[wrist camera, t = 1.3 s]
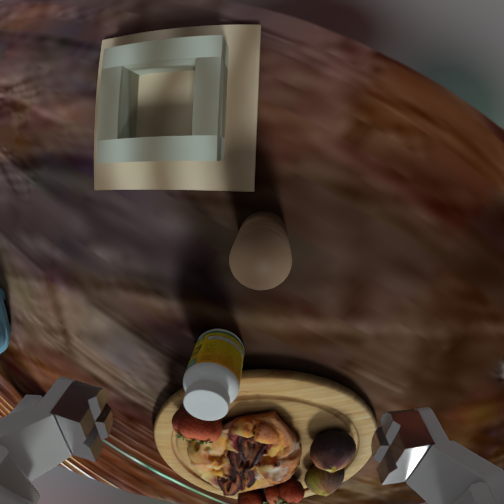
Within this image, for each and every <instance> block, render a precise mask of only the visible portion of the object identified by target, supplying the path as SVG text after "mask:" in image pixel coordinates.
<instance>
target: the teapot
mask: <svg viewBox="0 0 504 504" xmlns="http://www.w3.org/2000/svg"><path fill="white" fill-rule="evenodd" d="M4 300H5V293H4V291H3V289H2V288H1V287H0V354H1V353H2V352H3V351H5V350H6V349H7V347H8V345H9V341H10V332H11V331H12V329H11V326H10V324H9V320H8V315H7V311H6V307H5V304H4Z"/></svg>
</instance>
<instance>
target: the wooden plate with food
mask: <svg viewBox="0 0 504 504" xmlns="http://www.w3.org/2000/svg"><path fill="white" fill-rule="evenodd" d="M184 395H185V390H184V387H183V388H181V389H180V390H178V391H177V392H176V393H174V394H173V395H172V396H171V397H169V398H168V399H167V400H166V401H165V402H164V403H163V405H162V407H161V408H160V410H159V412H158V414H157V416H156V419H155V423H154V431H153V433H154V439H155V443H156V446H157V449H158V451H159V453H160V455H161V456H162V457H163V459H164V460H165V462H166V463H167V464H168V465H169V466H170V467H171V468H172V469H173V470H174V471H175V472H176V473H178V474H179V475H180V476H182V477H183V478H184V479H186V480H187V481H189V482H191V483H192V484H194V485H196V486H198V487H200V488H202V489H205V490H207V491H210V492H213V493H216V494H219V495H222V496H226V497H230V498H235V499H238V504H269V503H270V504H280V503H281V502H283V503H284V504H288V503H289V504H295V503H297V502H301V500H302V499H303V497H307V496H311V495H314V494H319V495H324V496H328V495H329V494H331V493H333V492H334V491H335V490H336V489H337V488H338V487H339V486H340V485H341V484H342V482H344V481H346V480H347V479H349V478H350V477H352V476H353V475H354V474H355V473H357V472H358V471H359V470H360V469H361V468H362V467H363V466H364V465H365V463H366V462H367V461H368V459H369V458H370V456H371V454H372V450H371V442H372V437H373V435H374V432H375V430H377V429H378V427H377V422H376V419H375V416H374V414H373V412H372V410H371V409H370V407H369V406H368V405H367V403H366V402H365V401H364V400H363V399H362V398H361V397H360V396H359V395H357V394H356V393H355V392H354V391H352V390H351V389H349V388H347V387H345V386H343V385H341V384H339V383H337V382H334V381H332V380H329V379H327V378H323V377H320V376H317V375H313V374H309V373H304V372H298V371H291V370H279V369H250V370H242V373H241V380H240V387H239V393H238V395H237V397H236V399H235V400H234V401H233V402H232V403H230V405H229V409H228V412H227V414H226V415H225V416H224V417H223V418H221V419H219V420H214V421H206V420H201V419H198V418H196V417H194V416H192V415H191V414H190V413H189V412H188V411H187V410H186V409H185V407H184V404H183V399H184Z"/></svg>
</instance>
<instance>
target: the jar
mask: <svg viewBox="0 0 504 504" xmlns="http://www.w3.org/2000/svg"><path fill="white" fill-rule="evenodd" d="M42 398H43V397H42V396H41V395H27V394H26V395H25V396H24V398H23V399H22V400H21V401H20V402H19V403H18V405H17V406H16V407H15V408H14V409H13V411H12V412H11V413H10V414H9V415H11V414H13V413H16V412H18V411H21V410H24V409H26V408H29V407H31V406H32V407H35V408H36V406H37V405H38V404H39V402H40V401H41V400H42Z"/></svg>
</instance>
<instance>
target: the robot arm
mask: <svg viewBox="0 0 504 504" xmlns="http://www.w3.org/2000/svg"><path fill="white" fill-rule="evenodd" d="M108 399H109V398H108V394H107V391H106V390H105V389H103V388H99V387H96V386H92V385H89V384H86V383H82V382H79V381H75V380H72V379H69V378H66V377H60V378H58V380H57V381H56V382H55V383H54V385H53V386H52V387H51V388H50V390H49V391H48V392H47V393H46V395H45V396H44V397H43V398H42V400H41V401H40V402H39V404H38V405H37V406H36V408H35V407H32V406H31V407H29V408H26V409H24V410H21V411H18V412H16V413H13V414H11V415H8V416H5V417H3V418H0V504H37V501H38V500H39V498H40V495H39V493H38V491H37V490H36V489H35V488H34V486H33V485H32V484H31V481H32V480H34V479H36V478H37V477H39V476H40V475H42V474H44V473H46V472H47V471H49V470H50V469H51V468H53V467H55V466H56V465H58V464H60V463H61V462H63V461H64V460H66V459H67V458H69V457H70V456H72V455H75V456H78V457H81V458H85V459H88V460H91V461H94V462H96V461H97V459H98V457H99V455H100V453H101V450H102V448H103V444H102V441H101V440H103V439H104V438H106V437H108V436H109V434H110V432H111V429H112V424H113V413H112V409H111V408H110V407H109V406H108V405H107V404H106V402H107V401H108ZM380 422H381V425H382V426H381V427H379V428H378V429H377V430H375V432H374V435H373V437H372V442H371V450H372V455H373V458H374V459H375V460H377V461H378V462H379V465H378V467H377V471H378V475H379V478H380V481H381V484H382V485H385V484H392V483H399V482H405V481H407V482H406V483H407V484H408V485H409V486H410V487H411V488H412V489H413V490H414V491H416V492H417V493H418V494H419V495H420V496H421V497H422V498H423V499H424V500H425V501H426V502H428V503H429V504H504V470H502V469H501V468H499V467H497V466H495V465H494V464H492V463H490V462H488V461H487V460H485V459H483V458H482V457H480V456H478V455H476V454H475V453H473V452H471V451H470V450H468V449H466V448H465V447H463V446H461V445H460V444H458V443H456V442H455V441H449V439H448V437H447V436H446V434H445V432H444V430H443V428H442V427H441V425H440V423H439V421H438V420H437V418H436V416H435V414H434V413H433V411H432V409H431V408H429V407H425V408H418V409H410V410H401V411H391V412H385V413H384V414H383V416H382V418H381V420H380ZM71 454H72V455H71Z"/></svg>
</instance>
